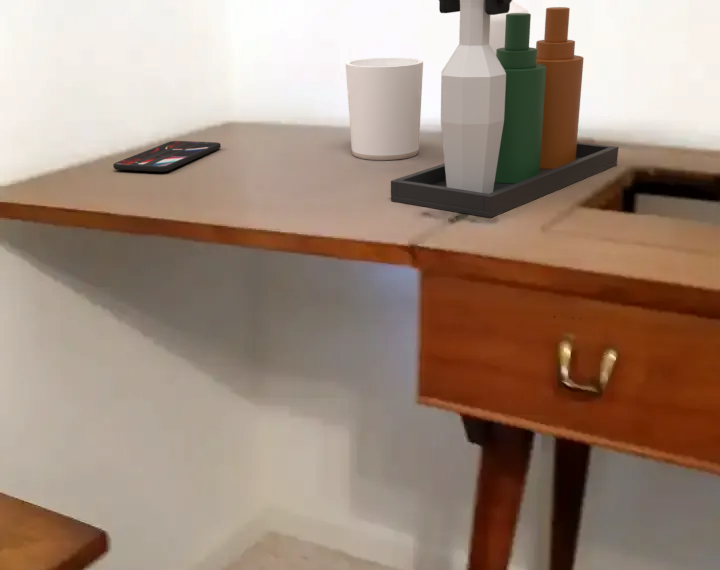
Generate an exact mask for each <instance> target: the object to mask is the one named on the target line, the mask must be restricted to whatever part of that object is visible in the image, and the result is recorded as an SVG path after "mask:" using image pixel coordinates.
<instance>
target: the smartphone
mask: <svg viewBox="0 0 720 570" xmlns="http://www.w3.org/2000/svg"><path fill="white" fill-rule="evenodd" d="M221 146H222V145H221V143H220V142H217V141H216V142H215V141H214V142H213V141H193V140H192V141H189V140H172V141H167V142H164V143H162V144H160V145H158V146H155V147H152V148H150V149H147V150H144V151H142V152H139V153H137V154H134V155H132V156H129V157H127V158H123V159H122V160H120V161H116V162H114V163H113V165H112V166H113V169H114V170H117V171H118V170H119V171H133V172H134V171H135V172H136V171H139V172H154V173H155V172H156V173H157V172H158V173H159V172H160V173H165V172H170V171H171V170H174V169H176V168H178V167H180V166H183V165H185V164H187V163H189V162H192V161H195V160H196V159H198V158H200V157H203V156H206V155H208V154H211V153H212V152H214V151H217V150H219V149H221Z"/></svg>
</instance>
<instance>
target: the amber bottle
mask: <svg viewBox="0 0 720 570" xmlns="http://www.w3.org/2000/svg"><path fill="white" fill-rule="evenodd" d="M570 9H571V8H570V7H566V6H565V7H564V6H552V7H546V9H545V21H544V35H543V36H544V37H543V39H539V40H537V41H536V44H535V48H536V49H537V60H536V64H542V65H545V66H546V80H545V96H544V112H543V128H542V144H541V160H540V169H554V168H557V167H560V166H562V165H565V164H567V163H570V162H573V161H575V160H576V149H577V142H578V135H579V133H578V132H579V122H580V121H579V120H580V111H581V95H582V86H583V85H582V84H583V83H582V82H583V71H584V57H583V56H581V55H576V54H575V48H576V41H575V40H573V39H569V22H570Z"/></svg>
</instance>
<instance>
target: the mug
mask: <svg viewBox="0 0 720 570" xmlns="http://www.w3.org/2000/svg"><path fill="white" fill-rule="evenodd" d="M423 74H424V61H423V60H422V59H418V58H412V57H370V58H369V57H368V58H360V59H352V60H348V61H346V62H345V75H346V87H347V88H346V90H347V101H348V102H347V104H348V116H349V130H350V143H351V144H350V145H351V153H352V155H353V156H354V157H355V158H357V159H363V160H368V161H369V160H370V161H397V160H404V159H410V158H413V157H415V156H417V155H418V153H419V151H420V135H421V117H422V116H421V114H422V95H423V92H422V91H423Z"/></svg>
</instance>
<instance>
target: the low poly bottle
mask: <svg viewBox="0 0 720 570" xmlns="http://www.w3.org/2000/svg"><path fill="white" fill-rule="evenodd" d="M459 30H460V39H459V38H458V39H459V41H458V45H457V47H456V48H455V50H454V51H453V53H452V55H451V56H450V58H449V59H448V61H447V62H446V64H445V66H444V67H443V68H442V70H441V71H440V73H441V75H440V76H441V78H440V79H441V81H440V128H441V139H442V140H441V141H442V148H443V149H442V151H443V160H444V162H443V163H445V172H446V183H447V187H448V188H455V189H461V190H468V191H474V192H481V193H487V194H489V193H492V192H493V188H494V181H495V175H496V168H497V162H498V156H499V149H500V143H501V137H502V130H503V124H504V110H505V88H506V72H505V70H504V68H503V67H502V65H501V63H500V62H499V60H498V58H497V56H496V55H495V53H494V51H493V50H492V48H491V46H490V44H489V38H490V15H488V14H487V13H486V12H485V0H460V11H459Z"/></svg>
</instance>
